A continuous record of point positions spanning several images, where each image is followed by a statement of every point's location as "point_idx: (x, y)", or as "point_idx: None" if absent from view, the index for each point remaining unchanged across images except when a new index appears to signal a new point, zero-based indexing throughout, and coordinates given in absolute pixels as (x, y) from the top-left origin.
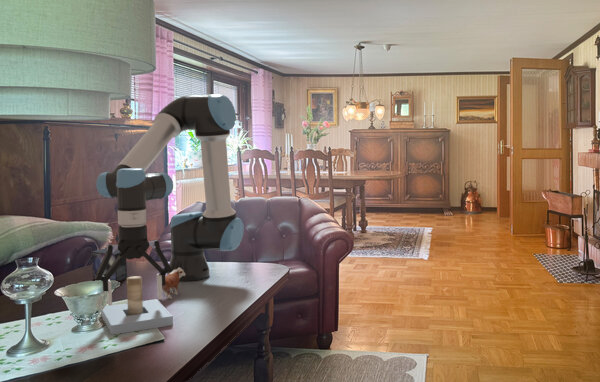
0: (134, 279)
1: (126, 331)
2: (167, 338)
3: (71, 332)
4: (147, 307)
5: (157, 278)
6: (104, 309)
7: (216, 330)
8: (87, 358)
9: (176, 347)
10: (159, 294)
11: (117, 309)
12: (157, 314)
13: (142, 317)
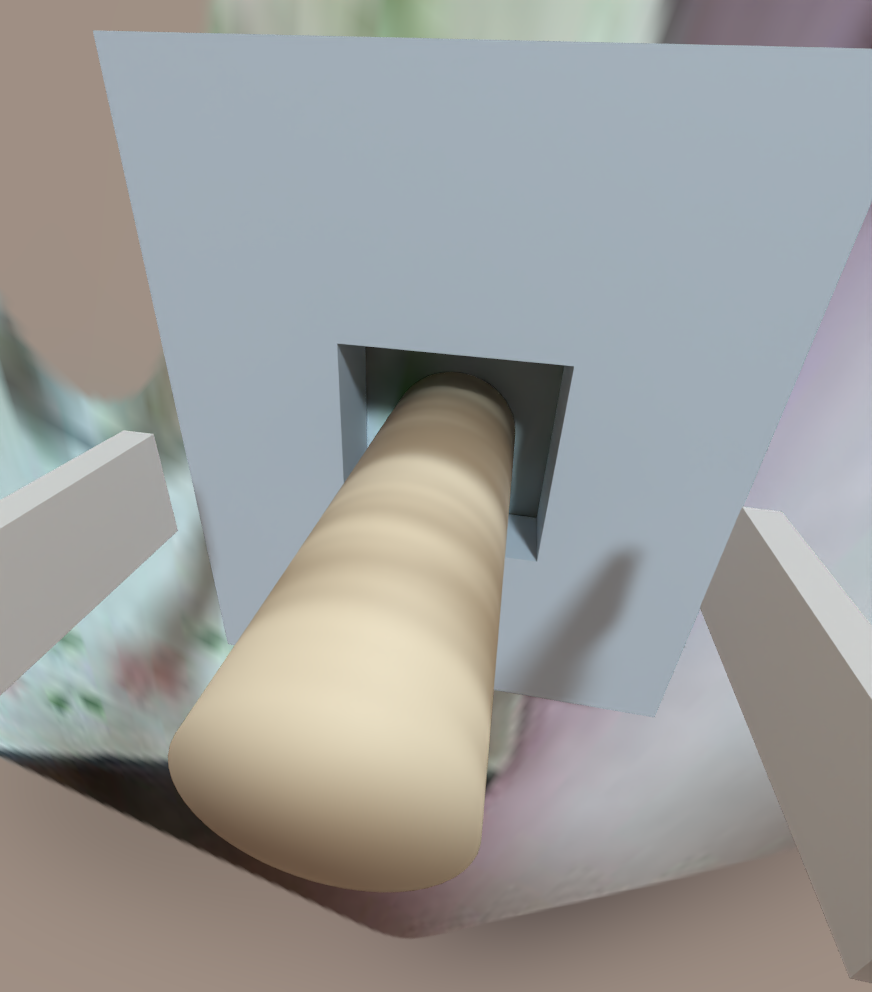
0: (311, 866)
1: None
2: (512, 778)
3: (12, 424)
4: (594, 408)
5: (870, 794)
6: (152, 202)
7: (787, 834)
8: (165, 753)
9: (503, 852)
10: (717, 640)
11: (288, 292)
12: (576, 633)
13: None
